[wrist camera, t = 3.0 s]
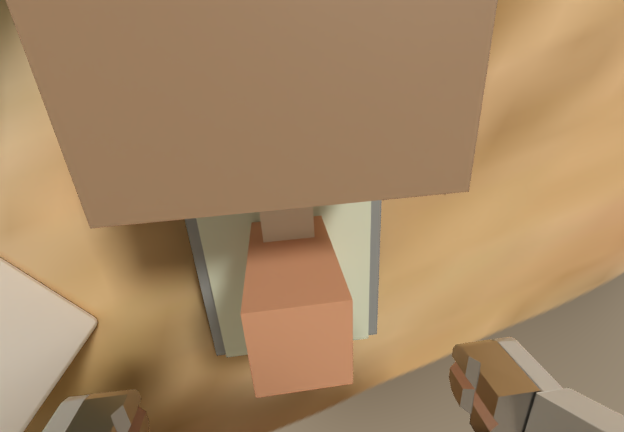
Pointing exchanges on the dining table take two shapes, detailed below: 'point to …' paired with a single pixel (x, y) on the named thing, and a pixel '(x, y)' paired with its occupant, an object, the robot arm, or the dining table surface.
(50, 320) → the medicine bottle
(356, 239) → the tunnel board
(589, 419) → the robot arm
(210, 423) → the dining table surface
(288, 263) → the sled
